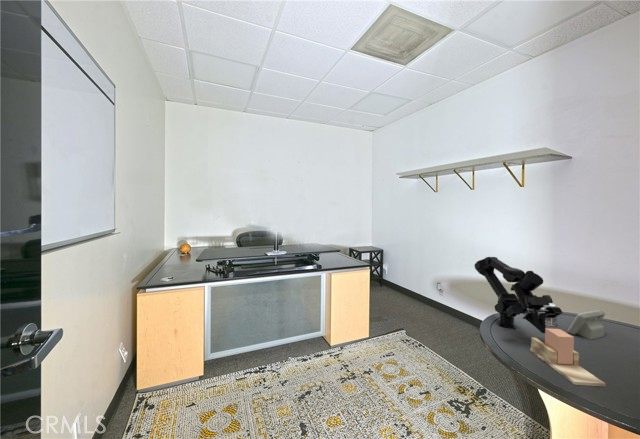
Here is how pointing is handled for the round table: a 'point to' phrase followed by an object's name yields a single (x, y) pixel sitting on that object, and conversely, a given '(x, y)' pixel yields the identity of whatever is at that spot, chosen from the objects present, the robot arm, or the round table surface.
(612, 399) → the round table surface
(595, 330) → the digital clock
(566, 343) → the block
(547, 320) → the pill bottle
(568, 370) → the chute
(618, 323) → the round table surface
